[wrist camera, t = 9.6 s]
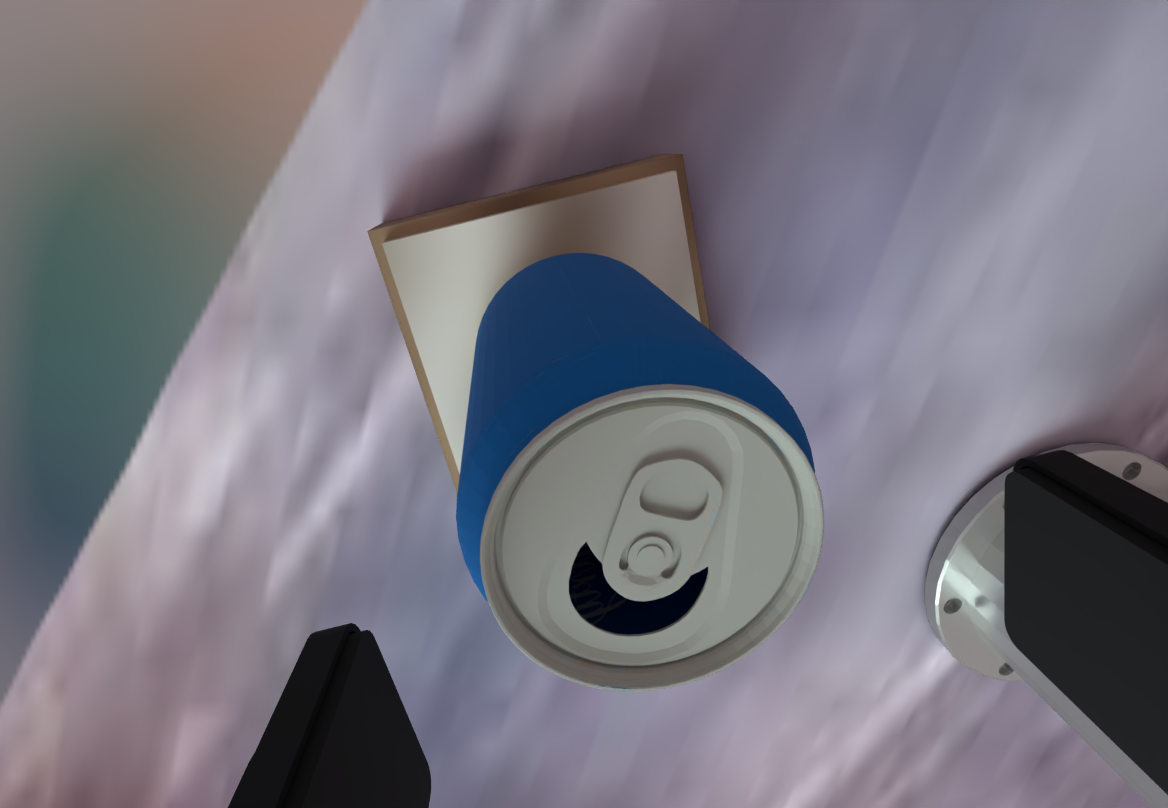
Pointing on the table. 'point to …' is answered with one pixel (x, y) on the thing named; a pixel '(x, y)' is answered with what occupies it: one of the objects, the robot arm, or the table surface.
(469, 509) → the beverage can
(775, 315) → the table surface
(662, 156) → the pedestal
